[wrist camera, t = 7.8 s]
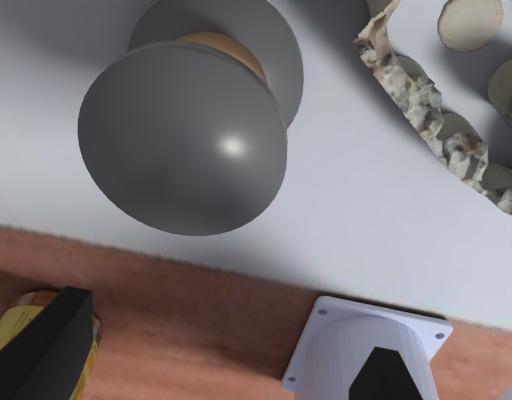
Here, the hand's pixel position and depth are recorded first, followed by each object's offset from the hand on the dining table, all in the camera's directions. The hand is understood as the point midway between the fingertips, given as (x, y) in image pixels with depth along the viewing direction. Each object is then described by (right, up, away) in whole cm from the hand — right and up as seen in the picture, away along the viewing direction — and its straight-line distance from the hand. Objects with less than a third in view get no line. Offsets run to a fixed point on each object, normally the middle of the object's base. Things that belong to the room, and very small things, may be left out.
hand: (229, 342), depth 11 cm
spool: (-1, +9, +7) cm, 11 cm away
